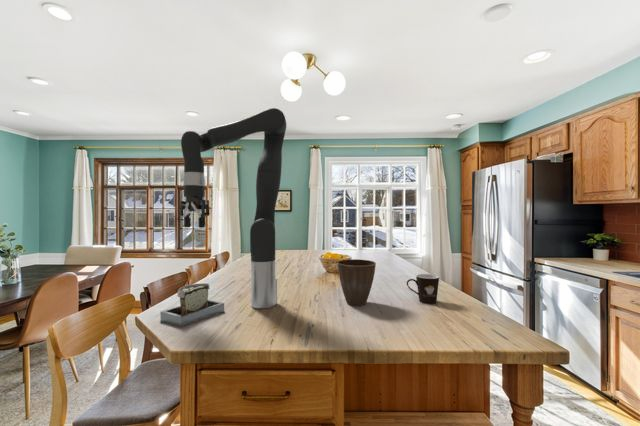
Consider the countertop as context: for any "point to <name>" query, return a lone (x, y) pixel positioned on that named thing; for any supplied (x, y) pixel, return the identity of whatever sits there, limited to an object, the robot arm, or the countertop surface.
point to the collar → (191, 314)
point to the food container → (193, 297)
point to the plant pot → (356, 280)
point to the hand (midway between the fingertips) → (194, 227)
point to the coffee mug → (426, 288)
